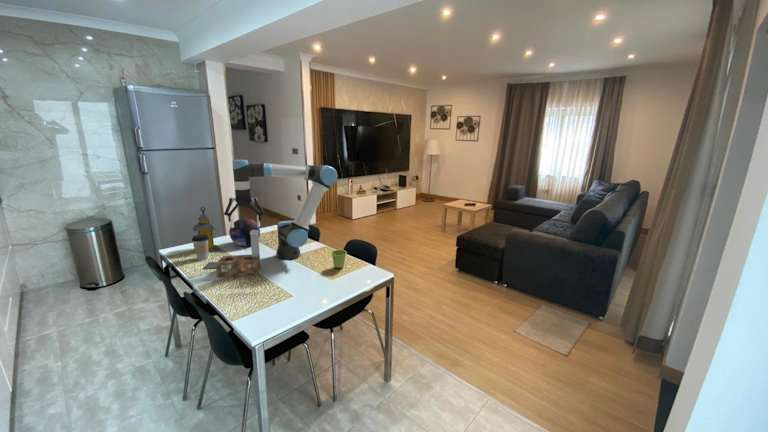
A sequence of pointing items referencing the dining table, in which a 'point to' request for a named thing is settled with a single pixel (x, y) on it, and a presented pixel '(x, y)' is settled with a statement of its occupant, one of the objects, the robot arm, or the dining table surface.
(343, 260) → the plant pot
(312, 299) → the dining table surface
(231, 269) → the socket block
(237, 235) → the decorative sphere
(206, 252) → the coffee cup
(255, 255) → the plug
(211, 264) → the mat
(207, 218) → the lantern
